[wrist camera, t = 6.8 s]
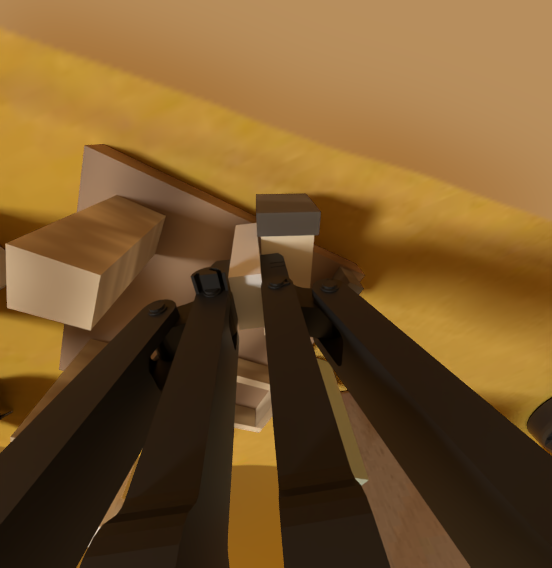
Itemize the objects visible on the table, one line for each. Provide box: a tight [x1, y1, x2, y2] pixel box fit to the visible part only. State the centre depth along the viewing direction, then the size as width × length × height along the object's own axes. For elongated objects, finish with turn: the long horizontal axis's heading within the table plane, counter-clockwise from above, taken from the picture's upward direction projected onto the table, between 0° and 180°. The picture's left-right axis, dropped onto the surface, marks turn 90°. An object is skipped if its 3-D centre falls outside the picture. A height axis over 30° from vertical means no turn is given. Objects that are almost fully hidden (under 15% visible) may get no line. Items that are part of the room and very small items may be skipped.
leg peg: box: [317, 358, 369, 485], centre depth 23 cm, size 4×4×11 cm
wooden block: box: [340, 391, 471, 568], centre depth 24 cm, size 10×10×20 cm
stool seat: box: [5, 144, 365, 442], centre depth 19 cm, size 20×20×10 cm
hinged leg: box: [256, 194, 321, 335], centre depth 16 cm, size 8×3×4 cm, turn 0°
